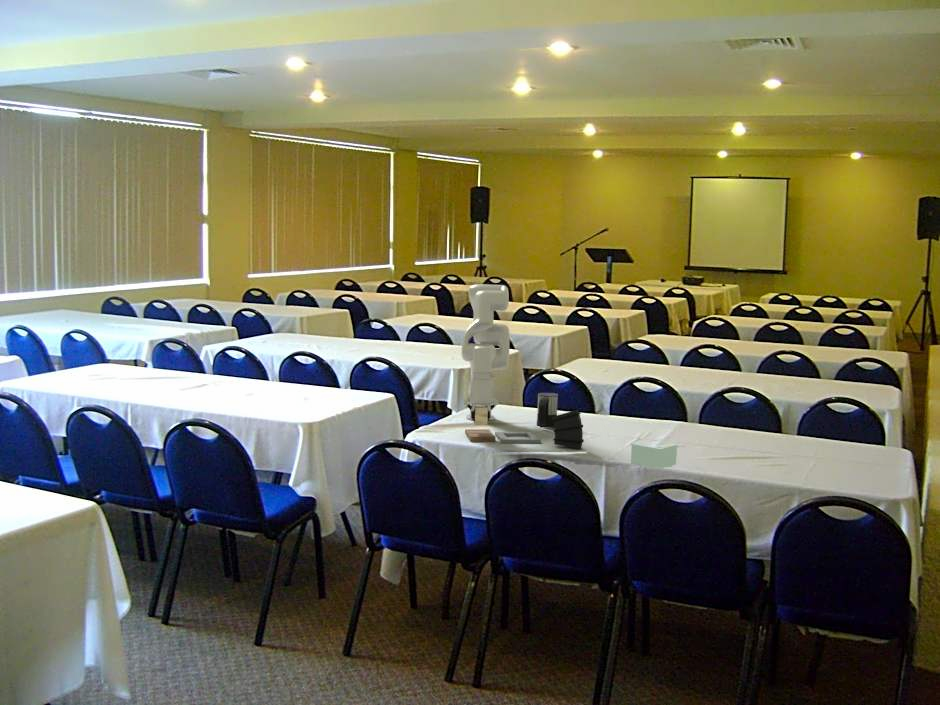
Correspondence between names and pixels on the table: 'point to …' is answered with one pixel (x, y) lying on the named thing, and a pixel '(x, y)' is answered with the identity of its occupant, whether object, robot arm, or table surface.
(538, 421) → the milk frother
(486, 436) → the walnut board
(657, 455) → the right angle wall
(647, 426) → the table surface
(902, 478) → the table surface
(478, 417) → the maple block
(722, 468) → the table surface
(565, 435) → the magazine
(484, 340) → the robot arm
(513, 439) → the pocket plate
